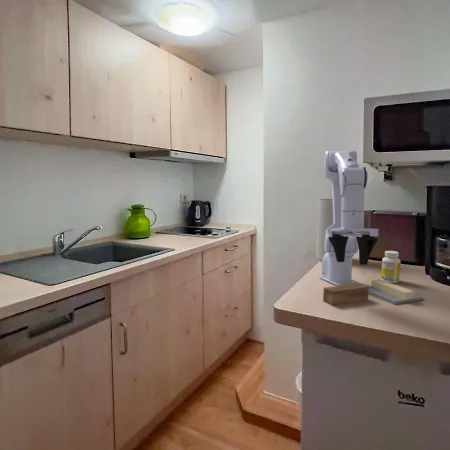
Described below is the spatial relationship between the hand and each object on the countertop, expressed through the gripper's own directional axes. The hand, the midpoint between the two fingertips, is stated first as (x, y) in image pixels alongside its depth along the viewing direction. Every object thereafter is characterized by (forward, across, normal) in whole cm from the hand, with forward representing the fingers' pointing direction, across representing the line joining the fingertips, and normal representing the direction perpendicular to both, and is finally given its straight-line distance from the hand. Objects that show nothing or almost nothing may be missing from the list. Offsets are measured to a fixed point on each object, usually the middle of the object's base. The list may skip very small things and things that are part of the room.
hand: (351, 263), depth 89 cm
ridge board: (+9, +1, +15) cm, 18 cm away
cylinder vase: (+3, -40, +34) cm, 52 cm away
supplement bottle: (+7, -8, +28) cm, 30 cm away
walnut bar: (+11, -2, +1) cm, 11 cm away
